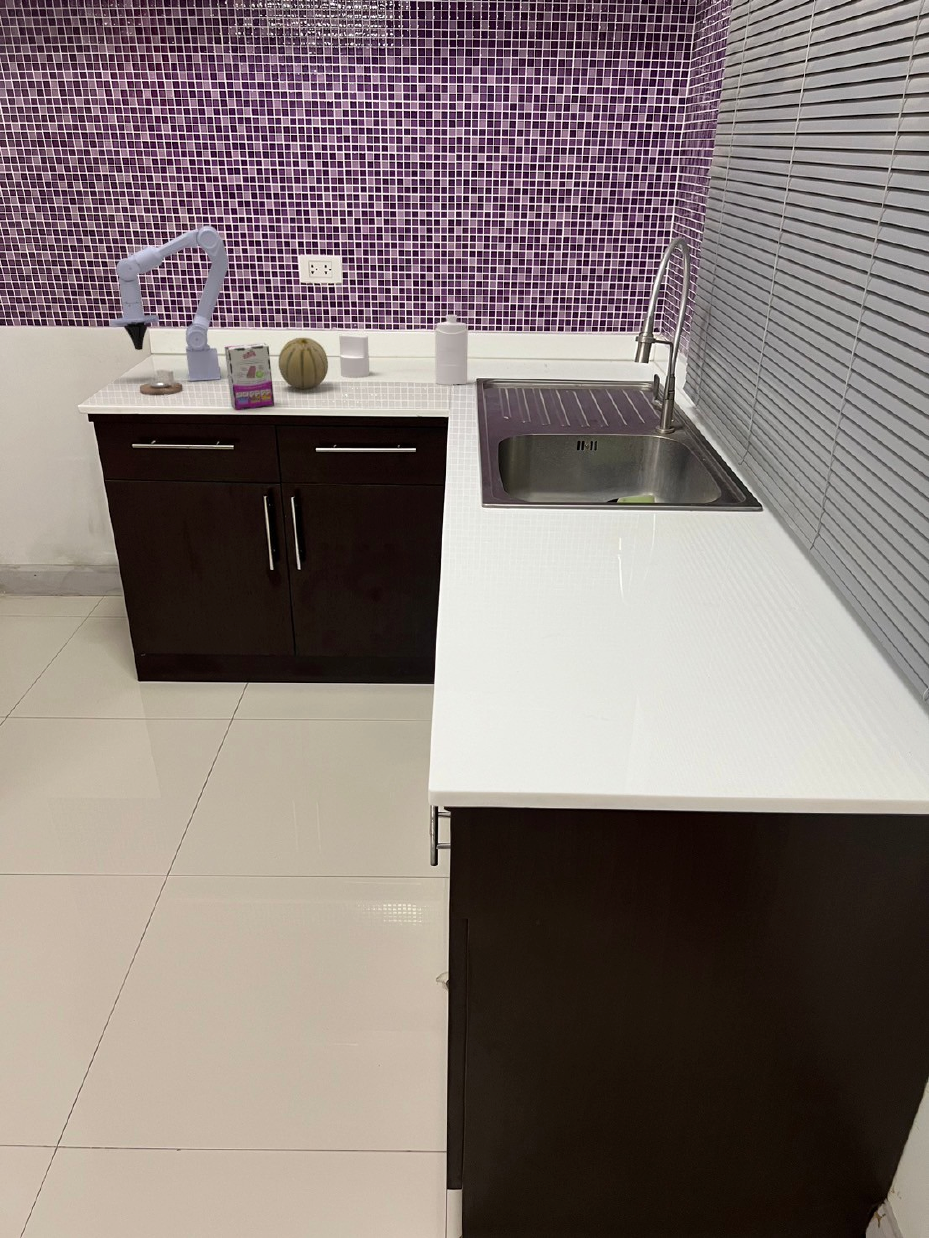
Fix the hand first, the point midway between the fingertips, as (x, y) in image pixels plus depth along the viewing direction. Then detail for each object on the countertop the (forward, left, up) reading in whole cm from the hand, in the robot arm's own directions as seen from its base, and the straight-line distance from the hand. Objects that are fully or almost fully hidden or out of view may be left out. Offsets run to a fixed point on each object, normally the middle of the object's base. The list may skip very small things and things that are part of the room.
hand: (138, 349), depth 280 cm
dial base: (-5, +15, -9) cm, 18 cm away
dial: (-6, +15, -8) cm, 18 cm away
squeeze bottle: (-90, +28, -10) cm, 95 cm away
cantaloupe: (-46, +23, -10) cm, 52 cm away
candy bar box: (-29, +41, -10) cm, 51 cm away
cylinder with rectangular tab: (-64, +8, -10) cm, 65 cm away
